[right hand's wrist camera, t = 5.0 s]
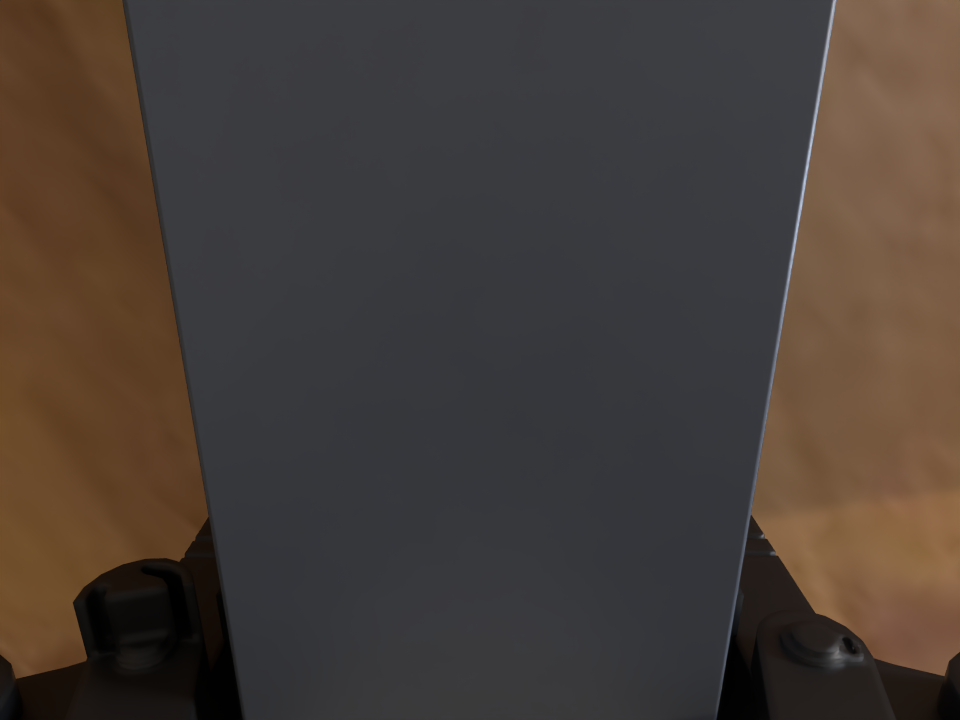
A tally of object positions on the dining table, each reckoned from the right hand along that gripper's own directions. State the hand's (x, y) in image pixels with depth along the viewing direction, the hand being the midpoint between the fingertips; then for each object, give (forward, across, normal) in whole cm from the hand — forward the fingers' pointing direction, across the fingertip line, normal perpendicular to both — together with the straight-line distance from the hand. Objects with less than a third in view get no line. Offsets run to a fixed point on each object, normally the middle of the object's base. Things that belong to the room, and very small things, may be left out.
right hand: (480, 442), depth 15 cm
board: (+1, 0, -18) cm, 18 cm away
